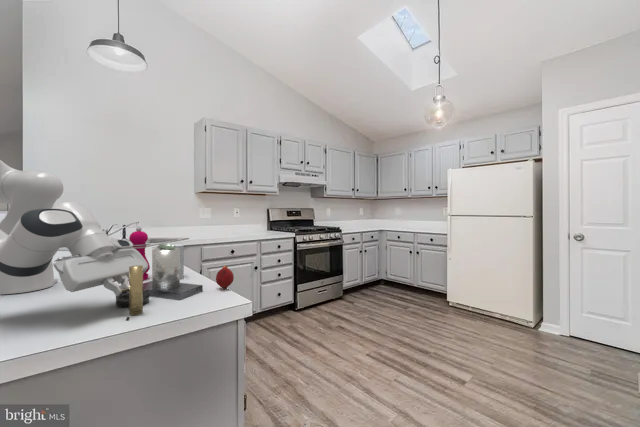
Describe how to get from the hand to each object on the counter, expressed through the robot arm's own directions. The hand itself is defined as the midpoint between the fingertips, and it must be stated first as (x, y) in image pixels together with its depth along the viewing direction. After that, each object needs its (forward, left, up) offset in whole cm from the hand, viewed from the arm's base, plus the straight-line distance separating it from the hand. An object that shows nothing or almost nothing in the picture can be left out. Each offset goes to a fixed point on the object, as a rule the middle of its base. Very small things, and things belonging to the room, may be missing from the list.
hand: (123, 292), depth 75 cm
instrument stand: (-5, +11, -6) cm, 13 cm away
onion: (+9, +29, -6) cm, 31 cm away
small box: (-19, +34, -6) cm, 39 cm away
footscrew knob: (-3, +5, -5) cm, 8 cm away
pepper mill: (-29, +29, -6) cm, 41 cm away
